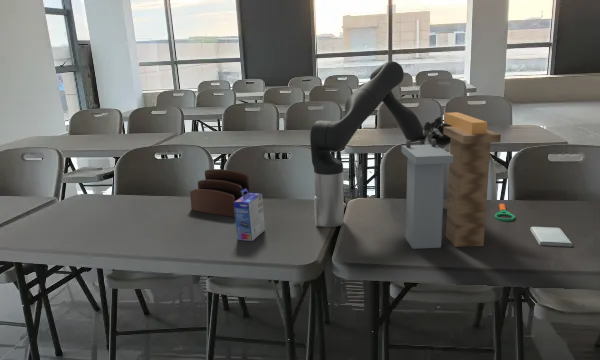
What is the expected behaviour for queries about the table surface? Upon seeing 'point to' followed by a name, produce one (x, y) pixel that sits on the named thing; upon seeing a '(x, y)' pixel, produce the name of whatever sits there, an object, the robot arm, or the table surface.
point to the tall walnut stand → (468, 186)
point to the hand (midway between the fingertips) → (454, 119)
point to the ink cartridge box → (249, 216)
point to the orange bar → (466, 123)
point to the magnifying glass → (504, 213)
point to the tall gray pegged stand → (425, 193)
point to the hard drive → (550, 236)
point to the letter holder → (219, 192)
